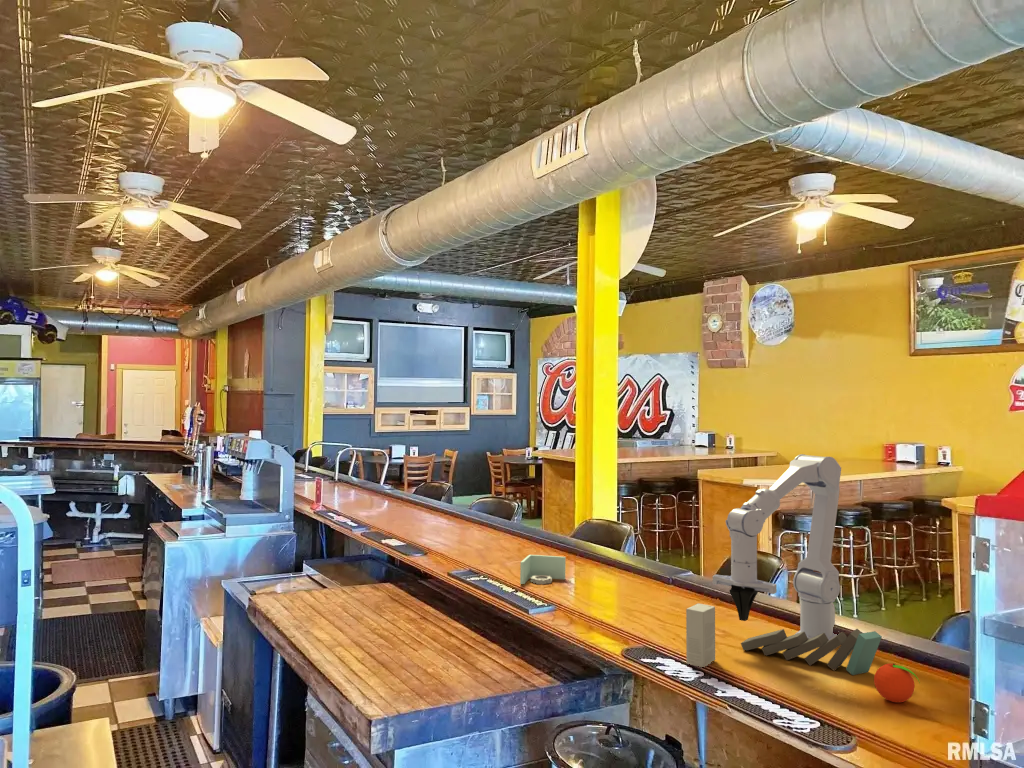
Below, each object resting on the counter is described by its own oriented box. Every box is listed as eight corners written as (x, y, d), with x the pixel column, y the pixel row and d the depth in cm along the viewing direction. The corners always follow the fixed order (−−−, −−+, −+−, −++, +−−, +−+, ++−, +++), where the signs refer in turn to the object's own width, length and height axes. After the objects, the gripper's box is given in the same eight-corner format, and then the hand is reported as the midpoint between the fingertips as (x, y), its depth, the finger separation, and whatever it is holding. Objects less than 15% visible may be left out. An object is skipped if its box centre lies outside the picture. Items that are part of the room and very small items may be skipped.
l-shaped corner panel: (520, 586, 230) (520, 562, 230) (528, 577, 241) (529, 554, 241) (558, 589, 227) (558, 564, 227) (565, 580, 238) (565, 556, 239)
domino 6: (845, 669, 157) (859, 633, 154) (861, 666, 159) (874, 631, 156) (852, 675, 155) (865, 639, 153) (868, 671, 158) (881, 636, 155)
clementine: (925, 702, 142) (925, 664, 142) (915, 713, 136) (915, 674, 137) (880, 691, 147) (880, 655, 147) (869, 701, 142) (869, 663, 142)
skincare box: (697, 656, 166) (697, 602, 166) (715, 661, 163) (716, 606, 163) (685, 664, 161) (685, 608, 161) (703, 668, 158) (704, 612, 159)
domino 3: (782, 652, 165) (817, 637, 160) (789, 647, 168) (824, 632, 164) (786, 660, 164) (822, 645, 159) (793, 654, 168) (828, 640, 163)
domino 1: (740, 643, 171) (776, 634, 165) (748, 638, 174) (783, 629, 169) (743, 651, 170) (779, 642, 165) (751, 645, 174) (787, 636, 169)
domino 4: (804, 658, 162) (836, 636, 158) (811, 652, 165) (842, 631, 161) (809, 665, 161) (842, 644, 157) (817, 660, 165) (848, 638, 161)
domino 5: (826, 664, 159) (850, 633, 156) (833, 659, 162) (857, 628, 160) (833, 670, 158) (857, 639, 155) (841, 665, 161) (864, 634, 159)
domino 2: (761, 648, 167) (797, 636, 163) (769, 642, 171) (804, 631, 166) (765, 655, 167) (801, 644, 162) (772, 650, 171) (808, 639, 166)
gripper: (707, 559, 174) (707, 617, 174) (769, 568, 165) (768, 629, 165) (719, 554, 180) (719, 611, 179) (779, 563, 171) (779, 622, 171)
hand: (743, 619), depth 173 cm, fingers closed
